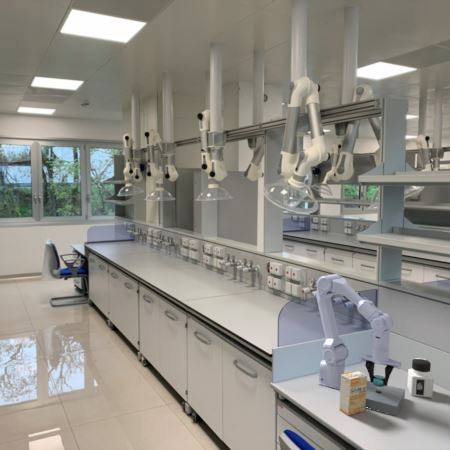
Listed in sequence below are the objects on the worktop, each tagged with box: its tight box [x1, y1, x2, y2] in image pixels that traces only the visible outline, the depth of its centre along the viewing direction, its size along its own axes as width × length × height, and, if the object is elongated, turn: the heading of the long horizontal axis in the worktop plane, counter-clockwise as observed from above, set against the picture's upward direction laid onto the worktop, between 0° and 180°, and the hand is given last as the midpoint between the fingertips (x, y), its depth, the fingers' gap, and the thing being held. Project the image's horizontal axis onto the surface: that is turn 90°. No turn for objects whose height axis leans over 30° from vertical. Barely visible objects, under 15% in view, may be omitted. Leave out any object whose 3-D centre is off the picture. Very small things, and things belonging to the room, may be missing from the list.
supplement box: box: [339, 370, 368, 416], centre depth 155 cm, size 8×5×13 cm, turn 118°
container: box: [406, 357, 435, 399], centre depth 171 cm, size 8×8×13 cm
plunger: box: [373, 374, 385, 394], centre depth 163 cm, size 4×4×6 cm
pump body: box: [365, 380, 406, 417], centre depth 164 cm, size 16×16×4 cm
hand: (378, 383), depth 163 cm, fingers closed on plunger, 4 cm apart
